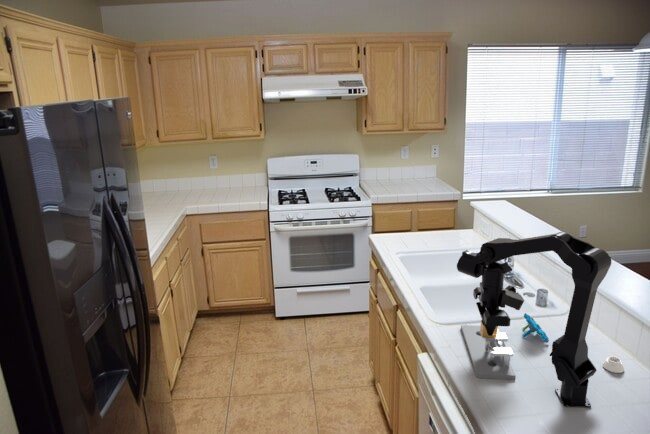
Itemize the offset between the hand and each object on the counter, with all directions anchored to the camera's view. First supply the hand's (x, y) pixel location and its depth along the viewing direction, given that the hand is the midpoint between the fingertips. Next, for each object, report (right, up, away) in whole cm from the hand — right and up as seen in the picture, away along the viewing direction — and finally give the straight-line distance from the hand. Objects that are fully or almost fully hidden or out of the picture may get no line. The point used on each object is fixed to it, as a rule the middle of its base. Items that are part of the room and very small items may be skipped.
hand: (488, 332), depth 134 cm
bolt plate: (0, -7, +4) cm, 8 cm away
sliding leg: (+2, -6, +1) cm, 6 cm away
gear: (+18, -4, +11) cm, 21 cm away
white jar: (+33, -9, -6) cm, 34 cm away
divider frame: (+3, -5, +5) cm, 7 cm away
